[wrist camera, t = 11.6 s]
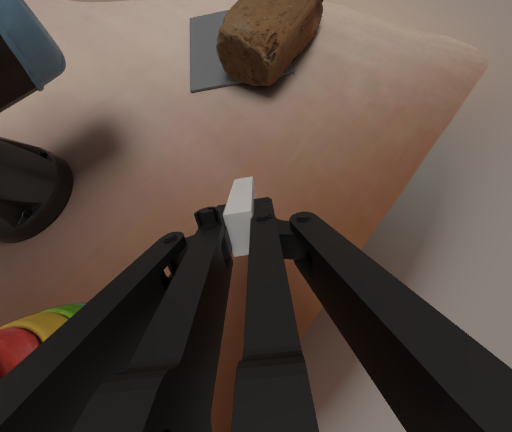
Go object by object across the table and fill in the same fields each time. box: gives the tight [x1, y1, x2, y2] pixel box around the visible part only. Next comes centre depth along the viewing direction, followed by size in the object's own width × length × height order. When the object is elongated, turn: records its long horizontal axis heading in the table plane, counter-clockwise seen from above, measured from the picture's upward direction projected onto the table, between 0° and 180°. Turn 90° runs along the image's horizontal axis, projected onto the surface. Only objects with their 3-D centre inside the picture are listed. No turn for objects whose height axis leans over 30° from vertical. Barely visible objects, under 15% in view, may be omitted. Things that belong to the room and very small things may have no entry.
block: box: [216, 0, 323, 86], centre depth 32 cm, size 11×8×20 cm
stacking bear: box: [0, 303, 87, 380], centre depth 15 cm, size 11×10×18 cm
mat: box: [190, 10, 294, 93], centre depth 37 cm, size 18×20×1 cm
